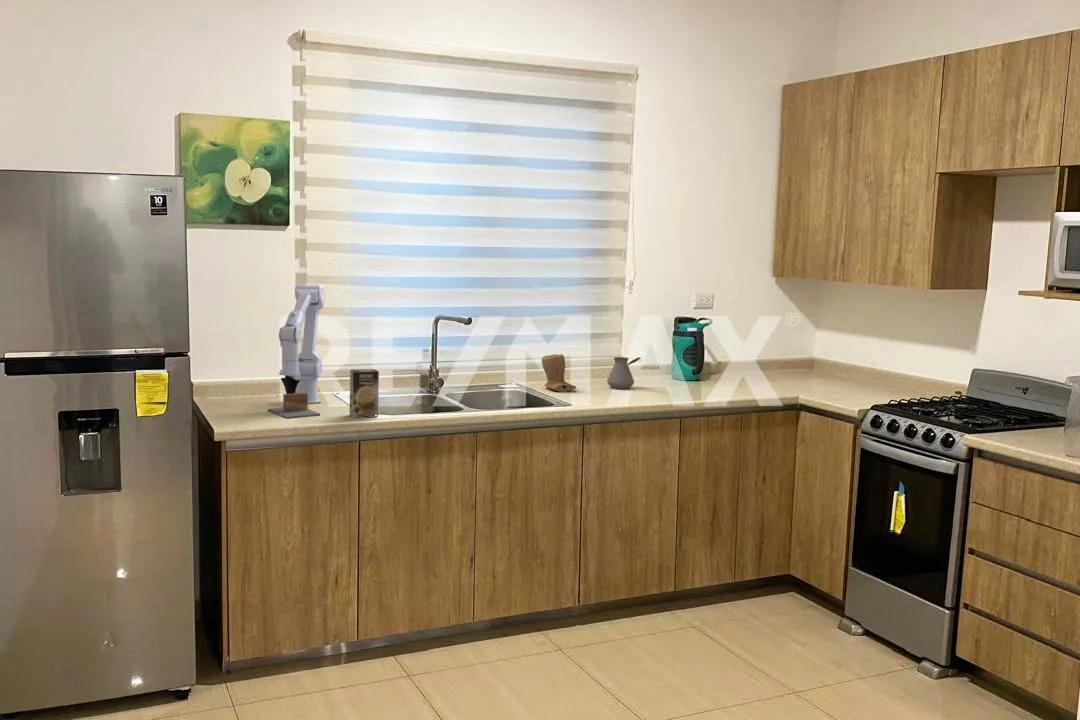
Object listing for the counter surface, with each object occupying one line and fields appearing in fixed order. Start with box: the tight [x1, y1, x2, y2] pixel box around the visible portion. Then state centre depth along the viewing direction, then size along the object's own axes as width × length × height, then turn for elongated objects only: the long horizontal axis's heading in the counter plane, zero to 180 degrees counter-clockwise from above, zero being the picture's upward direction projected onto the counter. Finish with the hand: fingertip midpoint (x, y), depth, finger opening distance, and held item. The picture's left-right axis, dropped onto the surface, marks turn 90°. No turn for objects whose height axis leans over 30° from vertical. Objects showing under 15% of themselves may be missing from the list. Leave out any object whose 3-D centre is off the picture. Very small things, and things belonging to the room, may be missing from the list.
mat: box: [267, 407, 321, 419], centre depth 354 cm, size 18×12×1 cm, turn 36°
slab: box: [282, 392, 309, 412], centre depth 355 cm, size 3×8×6 cm, turn 126°
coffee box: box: [349, 368, 380, 418], centre depth 351 cm, size 9×6×16 cm
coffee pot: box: [606, 356, 643, 390], centre depth 420 cm, size 21×12×15 cm, turn 25°
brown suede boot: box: [541, 353, 577, 393], centre depth 416 cm, size 15×12×15 cm
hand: (290, 397), depth 358 cm, fingers closed
